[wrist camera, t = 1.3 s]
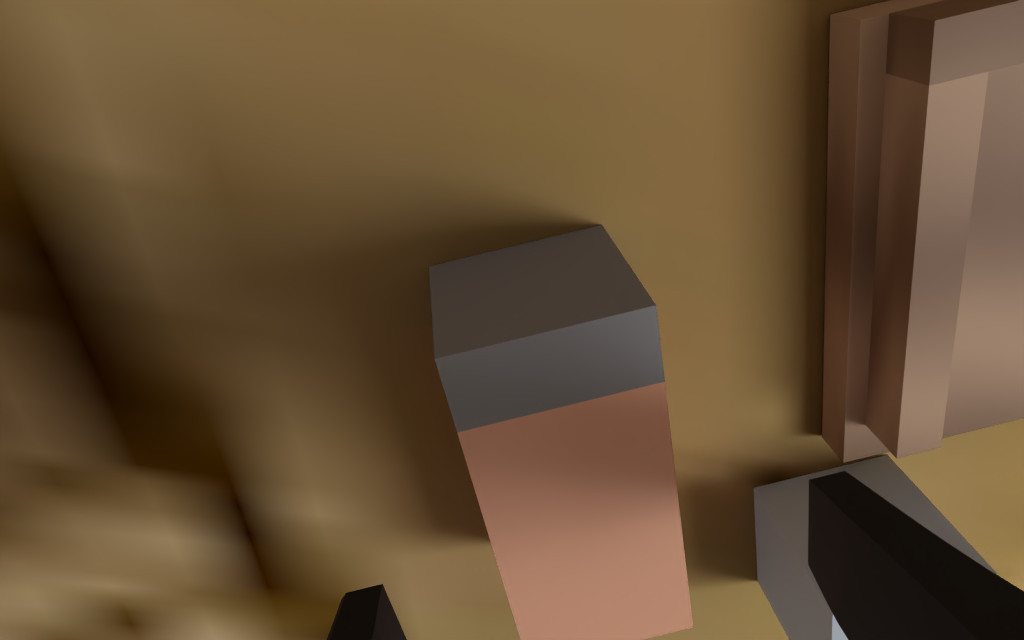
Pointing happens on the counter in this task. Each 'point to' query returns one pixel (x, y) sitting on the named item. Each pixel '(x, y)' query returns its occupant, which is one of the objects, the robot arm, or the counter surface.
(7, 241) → the counter surface
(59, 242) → the counter surface
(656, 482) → the two-tone peach block
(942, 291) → the jig
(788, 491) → the pale blue-grey cube
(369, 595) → the robot arm
